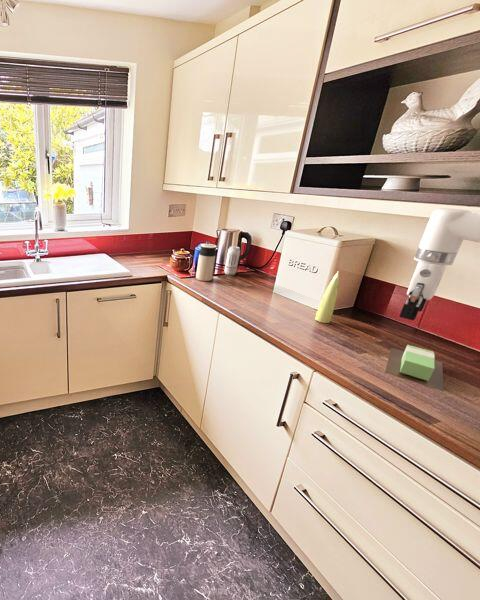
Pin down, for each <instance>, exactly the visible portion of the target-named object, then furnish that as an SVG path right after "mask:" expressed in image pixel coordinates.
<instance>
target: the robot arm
mask: <svg viewBox="0 0 480 600" xmlns="http://www.w3.org/2000/svg"><path fill="white" fill-rule="evenodd" d="M464 240H465V241H470V242H475V243H480V213H479V212H472V211H470V210H468V209H467V210H465V209H459V208H437V209H435V210H434V211H433V212H432V213H431V214H430V216H429V220H428V222H427V224H426V227H425V229H424V232H423V235H422V238H421V239H420V242H419V245H418V247H417V250H416V253H415V255H414V257H413V260H414V261H417V265H416V267H415V270H414V272H413V275H412V276H411V280H410V282H409V285H408V289H407V291H406V295H407V299H406V301H405V303H404V304H403V306H402V308H401V311H400V313H399V318H403V319H406V320H409V321H415V320H416V318H417V315H418V313H419V312H422V311H423V309H424V307H425V304H426V303H427V301H430V300H432V299H433V297H434V296H435V294H436V293H437V290H438V287H439V285H440V283H441V280H442V278H443V275H444V273H445V270H446V267H447V266H452V265H453V264H454V261H455V260H456V257H457V255H458V252H459V250H460V248H461V247H462V244H463V241H464Z"/></svg>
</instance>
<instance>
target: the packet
mask: <svg viewBox="0 0 480 600" xmlns="http://www.w3.org/2000/svg"><path fill="white" fill-rule="evenodd" d="M434 360H436V358H435V351H432V350H429V349H425V348H422V347H417V346H414V345H410V344H407V345H406V347H405V349H404V354H403V356H402V361H401V369H400V372H401V373H404V374H407V375H411V376H414V377H417V378H420V379H423V380H427V381H429V379H430V377H431V375H432V373H433V371H434Z"/></svg>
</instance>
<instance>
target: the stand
mask: <svg viewBox="0 0 480 600" xmlns="http://www.w3.org/2000/svg"><path fill="white" fill-rule="evenodd" d="M404 351H405V350H404ZM404 351H403V350H401V349H397V348H393V347H391V348H390V351H389V354H388V360H387V363H386V366H385V370H384V371H385V372H384V373H385V374H388V375H391V376H395V377H397V378H400V379H404V380H407V381H409V382H412V383H416V384H419V385H423V386H426V387H429V388H431V389H436V390H439V391H442V392H444V373H443V372H444V371H443V370H444V369H443V368H444V367H443V361H440V360H436V359H434V371H433V373H432V375H431V377H430V379H429V381H427V380H423V379H420V378H417V377H414V376H411V375H407V374H404V373H401V372H400V369H401V361H402V356H403V354H404Z"/></svg>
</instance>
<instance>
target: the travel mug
mask: <svg viewBox="0 0 480 600" xmlns="http://www.w3.org/2000/svg"><path fill="white" fill-rule="evenodd" d="M200 246H201V247H200V248H201V249H200V250H199V252H198V253H199V254H198V260H197V265H196V266H197V267H196V272H195V279H196V280H198V281H201V282H210V281H212V280H213V274H214V269H215V263H216V256H217V252H216V249H217V245H216V244H214V243H213V244H212V243H202V244H200Z"/></svg>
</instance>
